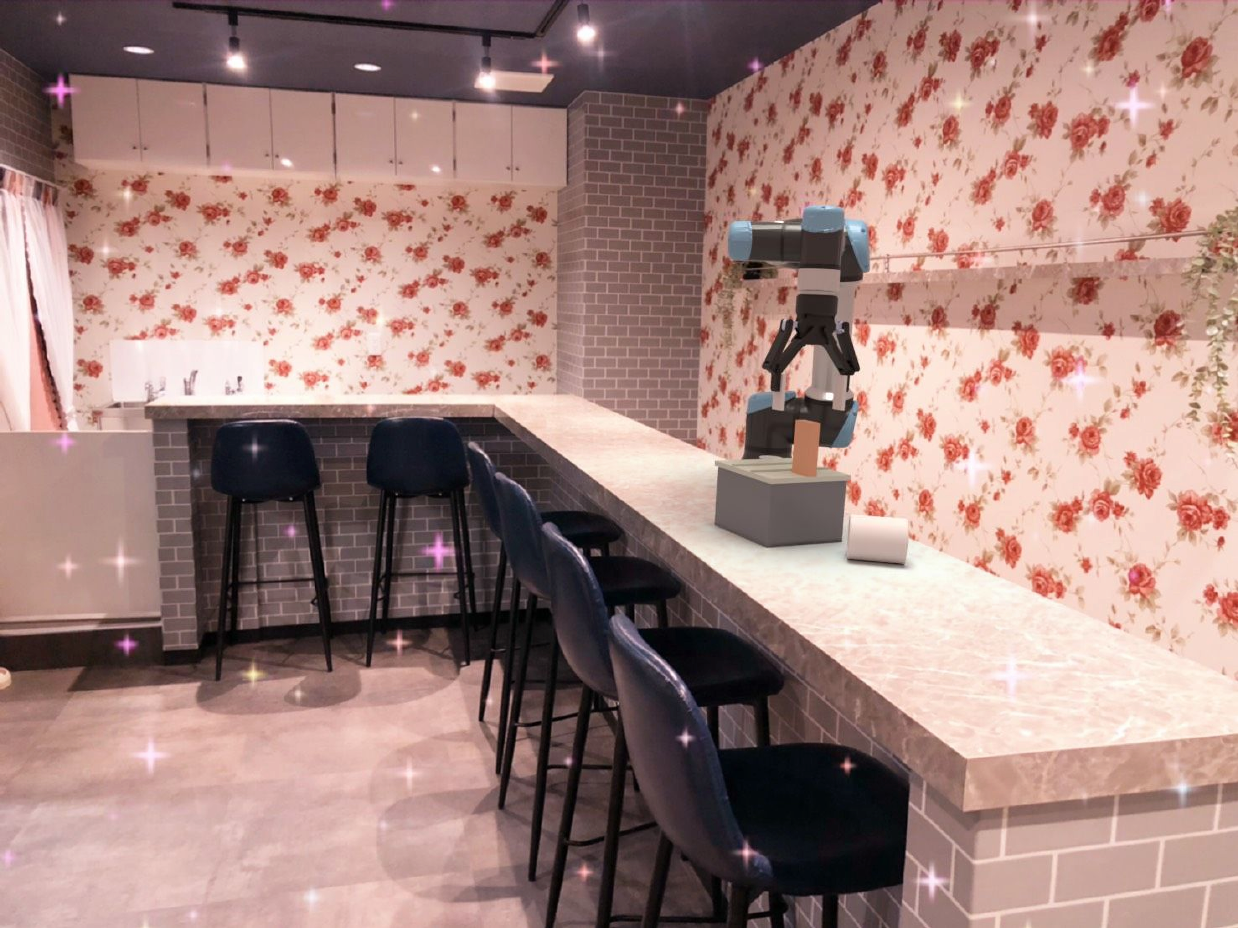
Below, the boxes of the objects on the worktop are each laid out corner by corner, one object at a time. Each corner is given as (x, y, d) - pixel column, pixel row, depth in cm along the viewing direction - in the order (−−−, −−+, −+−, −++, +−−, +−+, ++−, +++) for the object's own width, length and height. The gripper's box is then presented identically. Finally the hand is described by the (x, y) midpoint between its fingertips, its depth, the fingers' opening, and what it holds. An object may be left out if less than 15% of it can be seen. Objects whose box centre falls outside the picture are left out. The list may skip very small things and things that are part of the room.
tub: (785, 519, 206) (789, 463, 204) (841, 541, 189) (846, 479, 187) (714, 524, 199) (718, 465, 197) (766, 547, 182) (771, 483, 180)
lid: (789, 468, 205) (793, 409, 203) (850, 486, 187) (855, 422, 185) (714, 471, 197) (717, 410, 195) (770, 490, 179) (774, 424, 177)
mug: (905, 569, 171) (910, 524, 170) (847, 563, 173) (850, 519, 172) (900, 552, 183) (904, 510, 182) (845, 547, 185) (849, 505, 184)
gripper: (859, 296, 188) (850, 407, 191) (748, 290, 178) (740, 407, 181) (885, 297, 181) (875, 411, 185) (771, 290, 171) (763, 412, 174)
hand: (808, 410), depth 183 cm, fingers open, 13 cm apart
